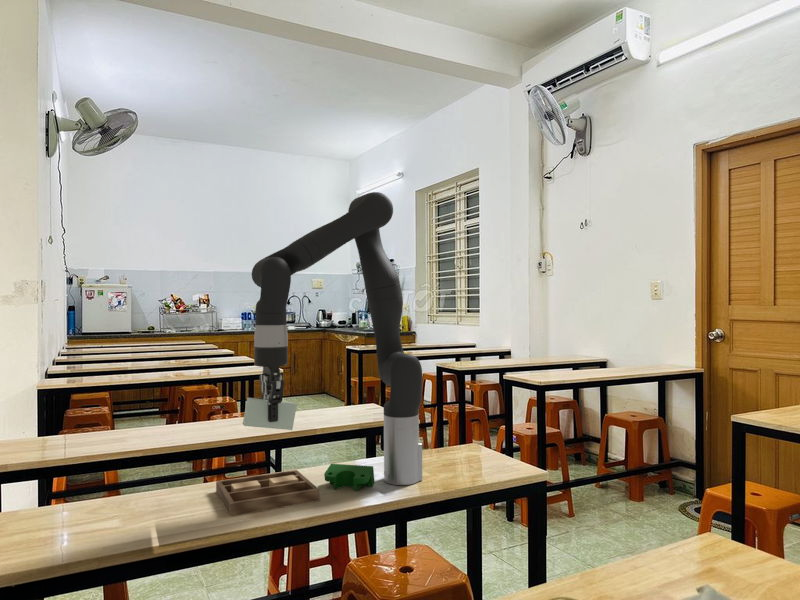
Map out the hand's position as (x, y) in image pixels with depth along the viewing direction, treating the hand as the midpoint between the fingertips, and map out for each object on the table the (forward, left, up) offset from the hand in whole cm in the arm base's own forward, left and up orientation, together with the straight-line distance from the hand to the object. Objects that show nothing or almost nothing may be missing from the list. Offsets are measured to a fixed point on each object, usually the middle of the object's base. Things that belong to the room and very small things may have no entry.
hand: (271, 420), depth 127 cm
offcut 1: (+4, -6, -19) cm, 20 cm away
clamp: (-20, -2, -20) cm, 28 cm away
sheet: (+6, 0, +3) cm, 6 cm away
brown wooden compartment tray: (0, -5, -20) cm, 20 cm away
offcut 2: (-5, -6, -19) cm, 20 cm away
